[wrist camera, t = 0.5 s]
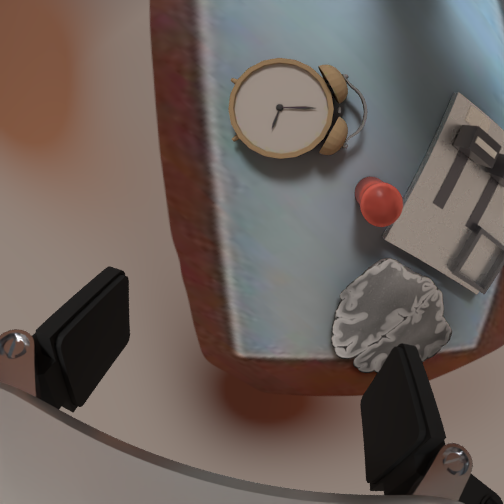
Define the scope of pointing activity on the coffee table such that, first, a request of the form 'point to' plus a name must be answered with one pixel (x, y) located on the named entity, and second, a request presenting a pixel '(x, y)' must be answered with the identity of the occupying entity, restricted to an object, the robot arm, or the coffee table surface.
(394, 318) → the brain slice
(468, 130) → the block
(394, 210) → the cap
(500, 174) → the breaker
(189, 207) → the coffee table surface
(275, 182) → the coffee table surface
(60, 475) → the robot arm
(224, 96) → the coffee table surface
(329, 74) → the alarm clock
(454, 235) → the panel
